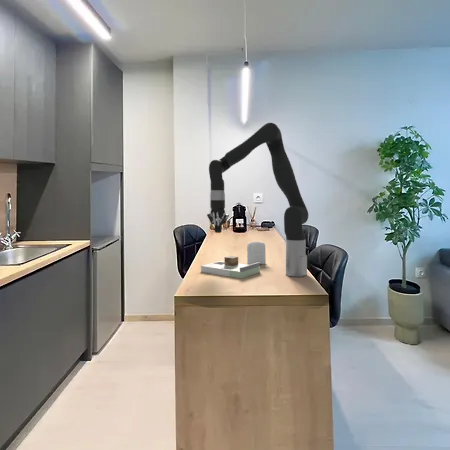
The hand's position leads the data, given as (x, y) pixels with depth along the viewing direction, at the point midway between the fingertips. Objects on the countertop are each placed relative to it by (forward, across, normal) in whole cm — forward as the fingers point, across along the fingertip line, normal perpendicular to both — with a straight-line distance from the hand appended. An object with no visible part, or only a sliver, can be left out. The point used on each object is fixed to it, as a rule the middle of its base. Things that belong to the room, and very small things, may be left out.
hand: (218, 232), depth 196 cm
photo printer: (+19, -10, -22) cm, 31 cm away
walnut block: (+16, -8, 0) cm, 18 cm away
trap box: (+19, -10, +3) cm, 22 cm away
